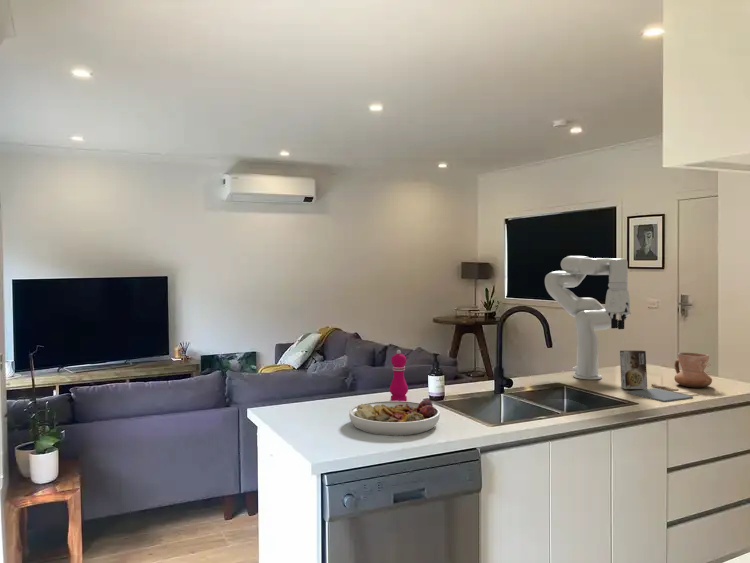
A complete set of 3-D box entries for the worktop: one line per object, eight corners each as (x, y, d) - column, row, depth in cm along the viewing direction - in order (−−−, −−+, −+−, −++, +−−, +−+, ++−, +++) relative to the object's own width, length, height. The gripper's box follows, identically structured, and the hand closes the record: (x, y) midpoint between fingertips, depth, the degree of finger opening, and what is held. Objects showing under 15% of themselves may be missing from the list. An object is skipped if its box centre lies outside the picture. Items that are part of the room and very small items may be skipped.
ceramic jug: (722, 389, 255) (722, 355, 255) (695, 390, 251) (695, 356, 251) (689, 382, 272) (689, 350, 272) (663, 383, 268) (663, 351, 268)
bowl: (370, 443, 180) (370, 417, 179) (336, 419, 207) (336, 397, 207) (456, 432, 192) (456, 407, 191) (413, 411, 219) (413, 389, 219)
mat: (627, 392, 247) (627, 391, 247) (655, 389, 254) (655, 388, 254) (664, 402, 231) (664, 400, 231) (693, 398, 238) (693, 396, 238)
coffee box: (642, 388, 257) (641, 350, 258) (647, 389, 251) (646, 350, 252) (620, 387, 258) (619, 350, 259) (625, 389, 252) (623, 350, 253)
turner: (648, 387, 259) (648, 384, 259) (657, 386, 261) (657, 383, 261) (689, 396, 241) (689, 393, 241) (698, 395, 243) (698, 392, 243)
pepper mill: (410, 399, 236) (410, 349, 236) (403, 403, 230) (403, 351, 229) (393, 398, 239) (393, 348, 239) (386, 401, 233) (386, 350, 232)
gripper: (597, 286, 267) (597, 327, 268) (626, 287, 252) (626, 331, 253) (610, 286, 270) (609, 326, 271) (639, 287, 255) (639, 330, 256)
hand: (617, 328), depth 262 cm, fingers open, 3 cm apart
